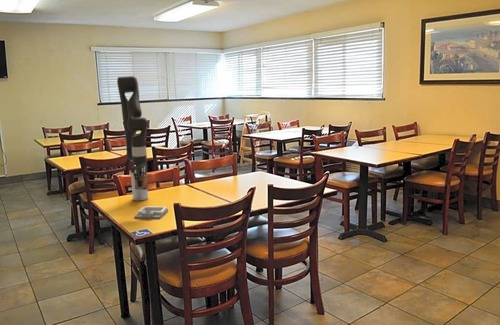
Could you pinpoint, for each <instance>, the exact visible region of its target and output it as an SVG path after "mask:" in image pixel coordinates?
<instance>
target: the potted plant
mask: <svg viewBox="0 0 500 325" xmlns="http://www.w3.org/2000/svg"><path fill="white" fill-rule="evenodd" d="M144 174H146V172H145V171H143V175H142V176H141V177H142V179H141V180H142V187H138V185H137V180H135V189H139V190H147V189H148V190H149V187H148V185H149V184H148V174H147V175H144ZM134 178H135V177H134Z"/></svg>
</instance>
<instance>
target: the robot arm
mask: <svg viewBox="0 0 500 325" xmlns="http://www.w3.org/2000/svg"><path fill="white" fill-rule="evenodd" d="M116 82H117V83H116V84H117V89H118V95H119V99H120V104H121V114H122V120H123V122H122V123H123V128H124V134H125V147H126V148H125V150H126V156H127V159H128V161H130V162H132V164H133V166H131V167H130V178H131V180H130V181H131V190H132V192H131V195H132V200H133V201H139V202H140V201H145V200H147V199H149V188H148V189H147V190H139V189H135V180H137V185H138V187H142V180H141V179H142V177H141V176H142V175H143V171H145V172H146V174H144V175H147V176H148V174H147V172H148V171H147V170H148V165H147V163H148V156H147V147H146V134H147V129H148V125H149V122H148V120H147V118H146V117H143V116H142V114H143V112H142V108H141V104H140V89H139V82H138V79H137V77H136V76H135V75H127V76H119V77H117V81H116ZM128 93H132V94H131V96H130V98H129V99H128V98H127V96H126V94H128ZM137 132H140V133H138V134H136V133H137ZM134 177H135V178H134Z"/></svg>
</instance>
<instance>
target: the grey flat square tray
mask: <svg viewBox="0 0 500 325" xmlns="http://www.w3.org/2000/svg"><path fill="white" fill-rule="evenodd" d="M168 211H169V209H168V206H152V205H151V206H149V205H147V206H146V205H145V206H143V207H141V208H140V209H139V210H138V211H137V214H136V215H135V216H134V219H145V220H146V219H148V220H160V219H162V218H163V216H165V215H166V214H167V212H168Z"/></svg>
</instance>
